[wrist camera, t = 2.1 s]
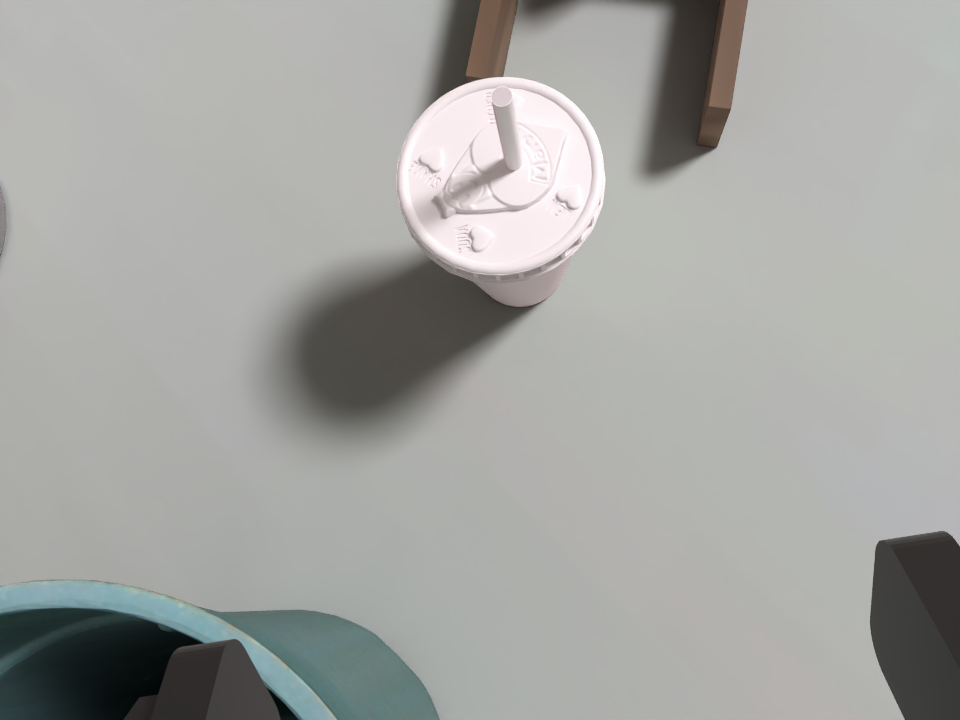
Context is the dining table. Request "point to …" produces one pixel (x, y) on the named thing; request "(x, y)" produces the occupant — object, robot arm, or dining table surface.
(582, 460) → the dining table surface
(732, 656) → the dining table surface
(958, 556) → the robot arm
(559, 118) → the smoothie
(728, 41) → the keeper
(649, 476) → the dining table surface
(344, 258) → the dining table surface
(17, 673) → the flower pot
